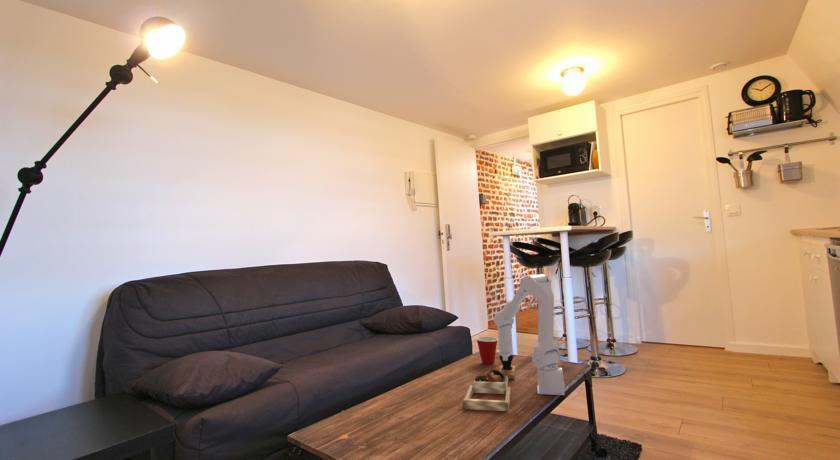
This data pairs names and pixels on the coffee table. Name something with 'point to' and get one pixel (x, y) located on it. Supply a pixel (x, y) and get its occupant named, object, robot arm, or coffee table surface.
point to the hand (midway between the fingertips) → (507, 373)
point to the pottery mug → (490, 378)
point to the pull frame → (495, 383)
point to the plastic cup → (487, 349)
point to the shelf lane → (486, 402)
